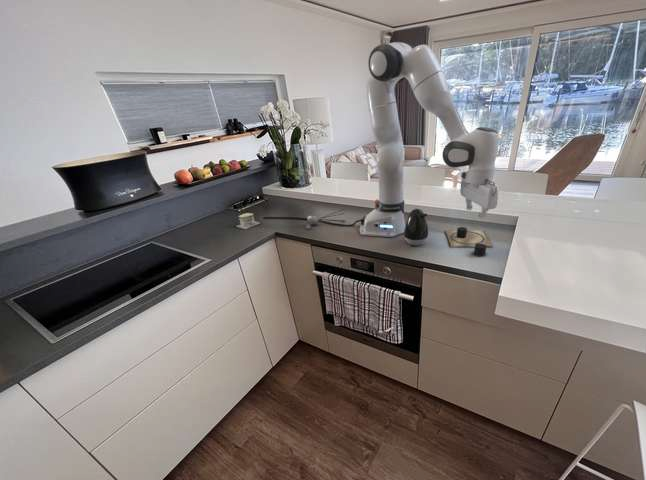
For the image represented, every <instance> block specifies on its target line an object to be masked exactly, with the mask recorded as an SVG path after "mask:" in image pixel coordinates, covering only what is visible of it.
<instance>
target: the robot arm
mask: <svg viewBox="0 0 646 480" xmlns="http://www.w3.org/2000/svg"><path fill="white" fill-rule="evenodd" d="M367 64H368V71H369V74H370V76H369V77H368V78H367V80H366V83H365V92H366V102H367V109H368V113H369V119H370V124H371V129H372V133H373V135H374V139H375V143H376V145H377V150H378V151H377V153H376V157H375V159H376V160H375V161H376V173H377V181H378V197H379V198H377V199H374V209H373V210H371V211H370V212H369V213H368V214H366V215H364V216H363V217H361V218H360V219H358V220H354V222H353V223H351V224H344V223H343V224H342V223H337V222H332V221H328V220H321V221H318V222H320V223H325V224H329V225H333V226H340V227H353V226H355V225H356V223H359V222H360V227H359V234H360V235H362V236H367V237H368V236H370V237H381V238H382V237H383V238H394V237H396V236H397V235H400V234H404V229H405V224H406V221H405V220H406V219H405V206H406V205H405V199H404V186H405V185H404V184H405V183H404V181H405V179H404V160H405V154H406V153H405V145H404V141H403V135H402V129H401V125H400V119H399V111H398V107H397V99H396V94H395V93H396V92H395V88H396V85H397V83H398V84H401V83H402V82H403V81H404V80H405V79H406V80H407V81H408V83H409V85H410V87H411V90H412V92H413V94H414V97H415V98H416V99H415V100H417V102H418V103H419V105H420V107H421V108H422V109H423V110H424V111H426V112H429V113H431V114H433V115H434V116H436V117H437V118H438V119H439V121H440V122H441V124H442V127H443V128H444V130H445V132H446V134H447V136H448V138H449V142H448V143H447V144H446V145H445V146H444V147H443V150H442V155H441V156H442V161H443V162H444V163H445V165H446V166H447V167H450V168H456V169H457V168H461V167H468V169H467V170H466V171H462V172H461V174H460V178H461V180H460V188H459V189H460V190H459V193H460V195H461V196H462V198H463V197H464V198H465V205H466V206H465V207H466V210H468V211H472V210H473V206H474V205H473V203H474V204H476V205H478V206H479V207H481V208H480V209H481V211H479V213H478V217H479V218H481V219H485V218H486V215H487V213H488V211H489V210H495V209H496V208H497V206H498V201H499V189H498V186H497V184H496V182H494V177H495V172H496V159H497V157H498V153H499V152H498V151H499V146H500V145H499V143H500V136H499V132H498V131H497V130H496V129H494V128H491V127H483V126H479V127H475V129H473V130H472V131H471V132H469V131H468V130H467V129H466V126H465V124H464V122H463V121H462V118H461V116H460V114H459V112H458V110H457V107H456V106H455V102H454V100H453V97H452V93H451V90H450V86H449V84H448V81H447V78H446V75H445V73H444V70H443V68H442V66H441V63H440V61H439V60H438V59H437V56H436V54H435V53H434V51H433V50H432V49H431V47H430V46H429V45H427V44H419V45H416V46H413V44H411V43H409V42H402V41H401V42H400V41H393V42H390V43H381V44H379V45H377V46H375V47H374V48H373V49H372V50H371V52H370V54H369V57H368V62H367ZM472 202H473V203H472ZM262 218H263V219H292V220H293V219H295V220H306V221H307V217H300V216H299V217H298V216H263V217H262Z"/></svg>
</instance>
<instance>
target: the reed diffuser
mask: <svg viewBox="0 0 646 480" xmlns="http://www.w3.org/2000/svg"><path fill="white" fill-rule="evenodd" d="M342 211H343V209H341V210H338V211H335V212H333V213H330V214H327V215H324V216H322V217H321V216H320V217H317V216H316V215H309V216H306V218H307V220H306V221H307V225H306V229H307V230H310V229H311V228H312V226H316V225H317V224H318V222H319V221H321V220H322V221H327V219H326V218H331V217H336V216H340V215H345V212H344V213H339V212H342ZM336 213H338V214H336ZM345 221H346V220H344V219H328V222H341V223H345Z"/></svg>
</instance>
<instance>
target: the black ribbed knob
mask: <svg viewBox="0 0 646 480" xmlns="http://www.w3.org/2000/svg"><path fill="white" fill-rule="evenodd" d="M456 230H457V237H458V238H465V237H466V234H467V230H468V228H467V227H465V226H460V227H457V228H456Z"/></svg>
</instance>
